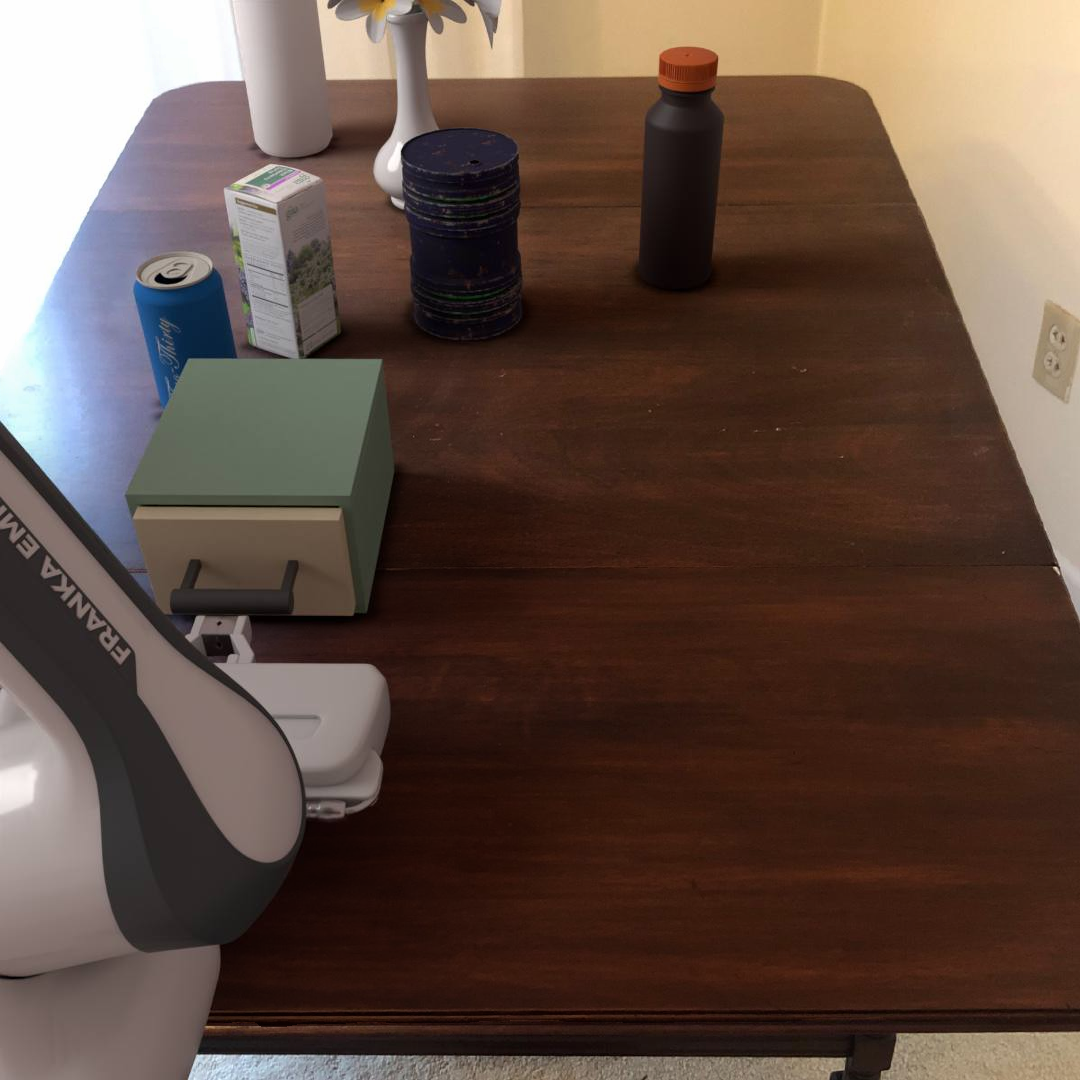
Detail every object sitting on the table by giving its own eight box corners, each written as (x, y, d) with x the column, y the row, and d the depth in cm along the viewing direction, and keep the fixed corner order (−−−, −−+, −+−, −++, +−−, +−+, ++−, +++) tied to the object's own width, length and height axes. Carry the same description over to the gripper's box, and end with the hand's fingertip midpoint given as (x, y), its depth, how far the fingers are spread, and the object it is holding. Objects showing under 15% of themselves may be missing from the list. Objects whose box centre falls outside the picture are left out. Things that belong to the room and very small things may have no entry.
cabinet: (366, 613, 79) (350, 495, 73) (157, 612, 79) (124, 494, 73) (394, 470, 91) (382, 358, 85) (213, 469, 91) (188, 358, 85)
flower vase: (522, 218, 124) (517, -47, 108) (339, 231, 122) (307, -37, 106) (507, 168, 134) (500, -82, 118) (337, 179, 132) (307, -74, 116)
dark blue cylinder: (395, 301, 111) (380, 140, 101) (493, 277, 114) (487, 119, 105) (440, 351, 104) (428, 183, 94) (542, 324, 107) (541, 159, 98)
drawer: (343, 664, 74) (328, 566, 69) (140, 662, 74) (110, 565, 69) (381, 479, 88) (371, 387, 84) (211, 478, 89) (191, 387, 84)
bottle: (630, 286, 113) (639, 65, 100) (647, 253, 118) (658, 39, 105) (702, 296, 111) (721, 72, 98) (717, 262, 116) (736, 46, 103)
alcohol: (260, 131, 143) (214, -161, 124) (336, 128, 143) (301, -163, 124) (251, 160, 136) (201, -143, 117) (330, 158, 136) (293, -146, 117)
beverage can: (148, 422, 96) (112, 284, 88) (185, 379, 101) (155, 245, 93) (224, 432, 95) (194, 294, 87) (258, 388, 100) (233, 253, 92)
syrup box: (291, 317, 109) (267, 159, 99) (344, 334, 106) (324, 174, 97) (248, 346, 105) (219, 184, 96) (302, 364, 103) (277, 200, 93)
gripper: (369, 779, 57) (401, 583, 68) (-63, 775, 58) (36, 581, 68) (382, 860, 61) (410, 663, 72) (-22, 856, 62) (66, 661, 72)
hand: (225, 623), depth 70 cm, fingers closed
